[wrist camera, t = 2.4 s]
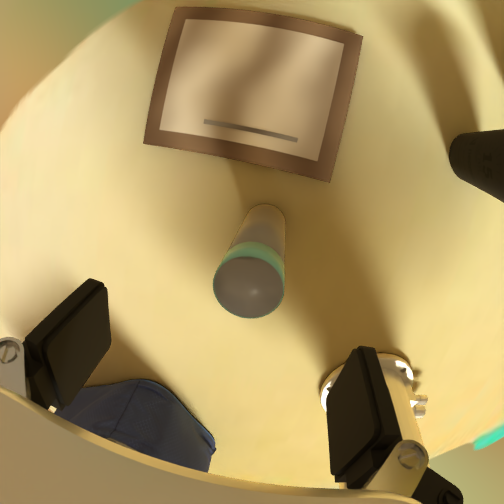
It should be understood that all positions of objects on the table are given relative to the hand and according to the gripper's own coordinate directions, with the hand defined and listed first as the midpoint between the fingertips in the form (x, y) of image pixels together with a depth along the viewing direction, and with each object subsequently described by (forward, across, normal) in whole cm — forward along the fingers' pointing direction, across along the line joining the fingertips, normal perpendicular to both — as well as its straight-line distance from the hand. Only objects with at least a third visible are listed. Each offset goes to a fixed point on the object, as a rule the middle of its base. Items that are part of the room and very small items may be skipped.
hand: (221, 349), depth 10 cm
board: (+19, +3, -11) cm, 22 cm away
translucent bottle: (+18, -1, +1) cm, 18 cm away
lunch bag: (+18, +13, +41) cm, 47 cm away
